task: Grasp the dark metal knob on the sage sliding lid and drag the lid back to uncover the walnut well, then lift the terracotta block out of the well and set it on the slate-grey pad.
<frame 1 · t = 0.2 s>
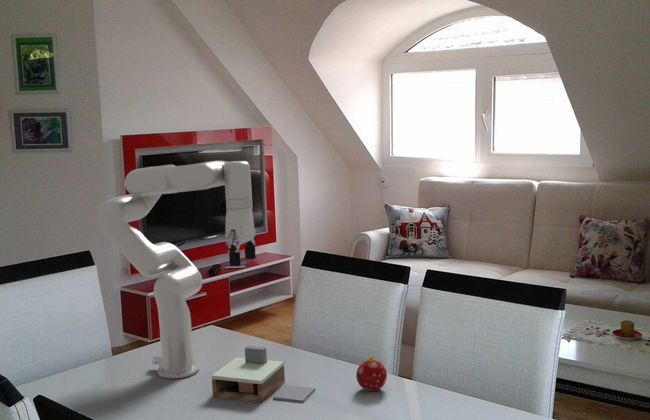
hand: (243, 262, 208), 36 cm above the table, tool pointing down, fingers open, 9 cm apart
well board: (249, 389, 206), on the table
lid: (248, 362, 205), point 8 cm above the table, slide at 0.0 cm
christmas ornament: (371, 390, 202), on the table
pad: (294, 394, 201), on the table
block: (249, 382, 205), in the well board
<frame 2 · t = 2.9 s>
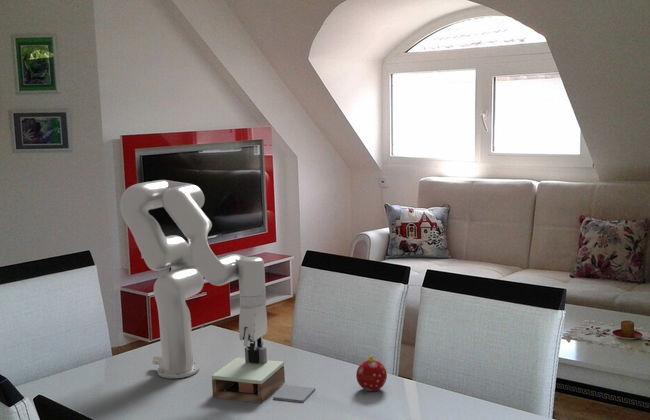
hand: (256, 360, 209), 7 cm above the table, tool pointing down, fingers closed on lid, 2 cm apart
lid: (248, 362, 205), point 8 cm above the table, slide at 0.0 cm, touching gripper
everything else where it was.
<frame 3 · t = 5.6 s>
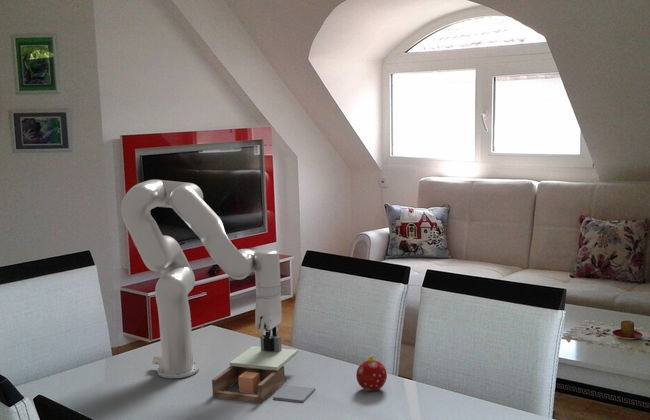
hand: (271, 348, 219), 7 cm above the table, tool pointing down, fingers closed on lid, 2 cm apart
lid: (264, 350, 214), point 8 cm above the table, slide at 10.7 cm, touching gripper
everything else where it was.
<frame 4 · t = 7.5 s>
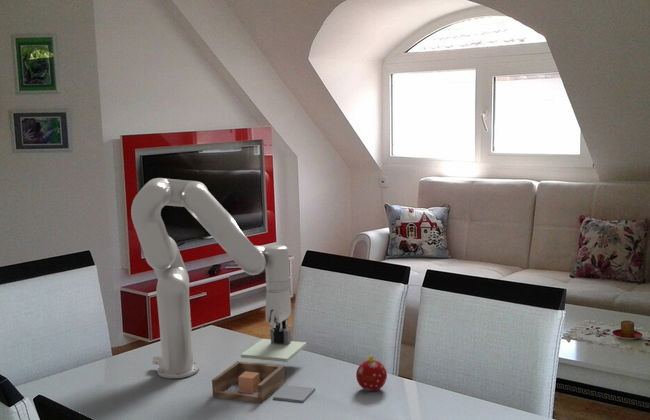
hand: (280, 341, 226), 7 cm above the table, tool pointing down, fingers closed on lid, 2 cm apart
lid: (274, 342, 221), point 8 cm above the table, slide at 18.0 cm, touching gripper
everything else where it was.
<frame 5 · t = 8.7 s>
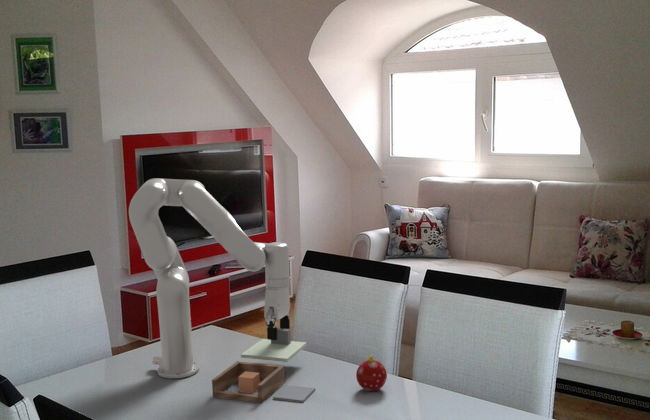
hand: (278, 335, 226), 9 cm above the table, tool pointing down, fingers open, 9 cm apart
lid: (274, 342, 221), point 8 cm above the table, slide at 18.0 cm
everything else where it was.
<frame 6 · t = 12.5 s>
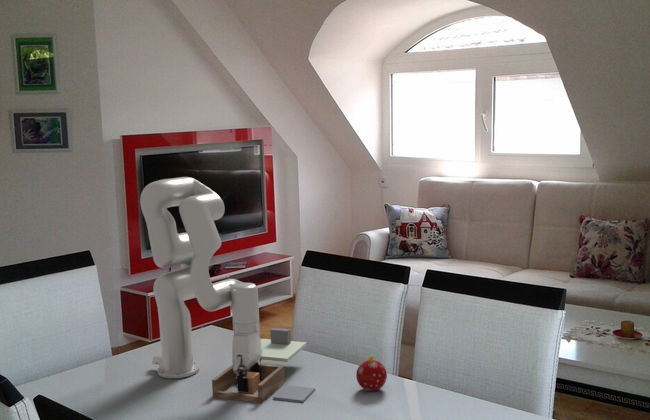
hand: (249, 385, 205), 1 cm above the table, tool pointing down, fingers open, 7 cm apart
nothing on the table moved.
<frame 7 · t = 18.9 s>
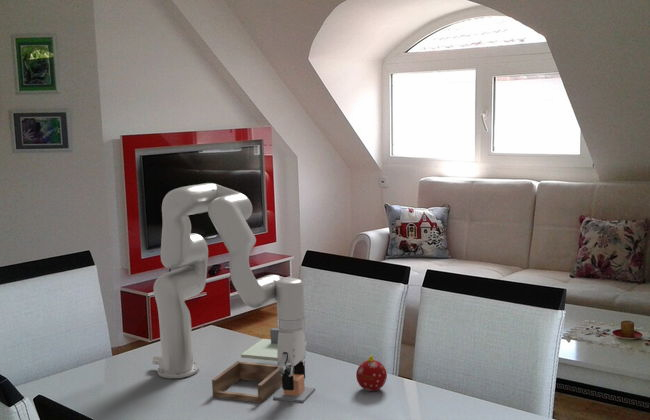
hand: (294, 383, 200), 3 cm above the table, tool pointing down, fingers open, 7 cm apart
block: (294, 384, 200), on the pad, point 3 cm above the table
everything else where it was.
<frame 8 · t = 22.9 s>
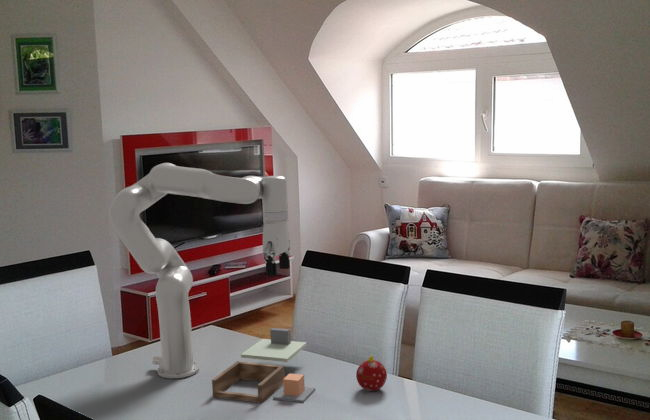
hand: (278, 272, 218), 30 cm above the table, tool pointing down, fingers open, 9 cm apart
nothing on the table moved.
at the end: lid slide at 18.0 cm; block 0.1 cm off-centre on the pad, point 2.8 cm above the pad's base; block tilted 0° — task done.
